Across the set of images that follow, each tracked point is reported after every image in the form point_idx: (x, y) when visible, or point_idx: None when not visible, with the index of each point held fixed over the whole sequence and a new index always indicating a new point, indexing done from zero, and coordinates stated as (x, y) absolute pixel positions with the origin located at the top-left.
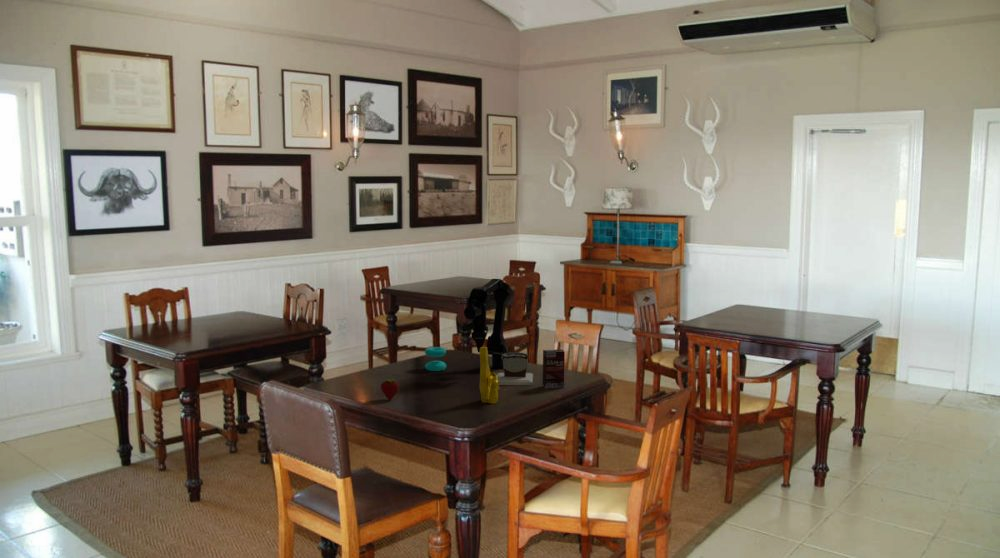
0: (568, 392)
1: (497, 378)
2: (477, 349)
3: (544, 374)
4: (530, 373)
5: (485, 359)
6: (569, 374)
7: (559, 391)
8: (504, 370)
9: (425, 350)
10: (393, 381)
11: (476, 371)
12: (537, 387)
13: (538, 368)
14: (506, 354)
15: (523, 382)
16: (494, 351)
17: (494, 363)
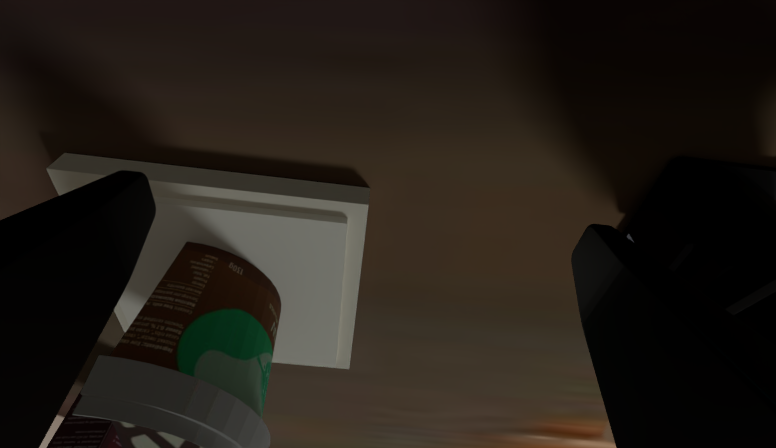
0: (67, 412)
1: (169, 190)
2: (55, 201)
3: (66, 435)
4: (321, 364)
5: None
6: (393, 444)
7: (68, 394)
8: (164, 282)
9: None
10: None
11: (633, 2)
12: (108, 344)
13: (550, 385)
14: (194, 426)
15: (119, 315)
16: (741, 314)
17: (671, 216)
